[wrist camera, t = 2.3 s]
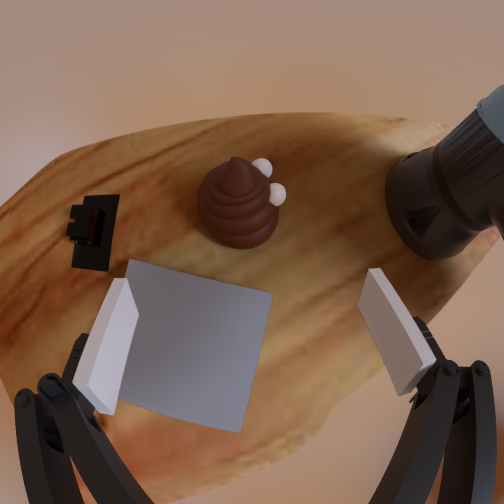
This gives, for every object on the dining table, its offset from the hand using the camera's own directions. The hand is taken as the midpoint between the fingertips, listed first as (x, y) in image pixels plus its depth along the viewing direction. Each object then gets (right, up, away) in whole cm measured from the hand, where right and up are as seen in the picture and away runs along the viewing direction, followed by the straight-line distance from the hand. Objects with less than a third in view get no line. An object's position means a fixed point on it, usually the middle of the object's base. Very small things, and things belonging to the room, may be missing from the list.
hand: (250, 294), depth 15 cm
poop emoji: (-1, +7, +17) cm, 18 cm away
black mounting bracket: (-19, +5, +16) cm, 25 cm away
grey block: (-7, -7, +13) cm, 16 cm away
